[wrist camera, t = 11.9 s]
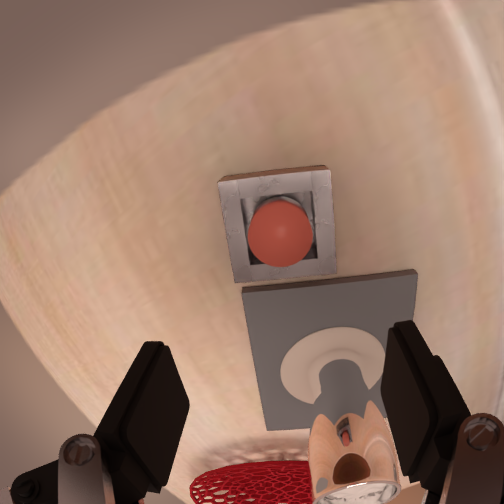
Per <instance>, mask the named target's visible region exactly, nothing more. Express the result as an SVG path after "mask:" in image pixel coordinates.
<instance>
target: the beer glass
mask: <svg viewBox="0 0 504 504" xmlns="http://www.w3.org/2000/svg"><path fill="white" fill-rule="evenodd" d="M308 381H309V384H310V387H311V390H312V393H313V398H314V408H313V415H312V421H311V428H310V434H309V443H308V474H309V483H310V491H311V498H312V504H386V503H388V502H389V501H391V500H393V499H394V498H395V497H396V496H397V495H398V494H399V493H400V491H401V485H400V479H399V470H398V463H397V457H396V452H395V447H394V443H393V440H392V437H391V434H390V431H389V429H388V426H387V424H386V422H385V420H384V418H383V416H382V414H381V412H380V410H379V408H378V407H377V405H376V403H375V401H374V400H373V398H372V396H371V394H370V392H369V389H368V386H367V377H366V364H365V361H364V359H363V358H362V356H361V355H360V354H358V353H356V352H354V351H352V350H347V349H337V350H332V351H329V352H326V353H324V354H322V355H320V356H319V357H317V358H316V359H315V360H314V361H313V362H312V363H311V365H310V367H309V369H308Z"/></svg>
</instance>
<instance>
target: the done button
mask: <svg viewBox="0 0 504 504" xmlns="http://www.w3.org/2000/svg"><path fill="white" fill-rule="evenodd" d="M312 239H313V233H312V228H311V225H310V222H309V219H308V216H307V213H306V211H305V210H304V208H303V207H302V206H301V205H300V204H299V203H298V202H297V201H295V200H293V199H291V198H288V197H282V196H278V197H272V198H269V199H267V200H265V201H263V202H262V203H261V204H260V205H259V206H258V207H257V208H256V210H255V211H254V213H253V216H252V219H251V223H250V226H249V230H248V243H249V246H250V249H251V251H252V252H253V254H254V255H255V256H256V257H257V258H258V259H259V260H260V261H262V262H263V263H265V264H267V265H270V266H274V267H287V266H291V265H293V264H296V263H297V262H299V261H300V260H302V259H303V258H304V257H305V256H306V254H307V253H308V251H309V250H310V247H311V244H312Z"/></svg>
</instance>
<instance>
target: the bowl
mask: <svg viewBox="0 0 504 504" xmlns="http://www.w3.org/2000/svg"><path fill="white" fill-rule="evenodd" d="M214 475H215V476H214ZM204 476H207V477H204ZM226 476H227V477H226ZM203 477H204V478H203ZM196 481H199V482H196ZM204 481H206V482H204ZM217 481H223V482H218V483H214V482H217ZM197 485H203V486H201V487H199V488H194V486H197ZM206 485H209V486H206ZM212 487H218V488H215V489H213V490H208V489H210V488H212ZM201 489H205V491H201V492H200V491H199V490H201ZM220 490H229V491H228V492H227V493H225V494H222V495H215V494H213V493H215V492H218V491H220ZM193 491H197V493H193ZM241 493H245V495H239V494H241ZM269 493H272V494H269ZM202 494H204V495H202ZM228 495H236V496H235V497H231V498H228V497H227V496H228ZM190 496H191V498H192V499H193V501H194V502H195V504H203V503H208V502H211V503H212V504H229V503H227V502H232V501H234V502H233V503H231V504H278V503H287V504H304V503H307V504H312V498H311V491H310V483H309V474H308V461H264V462H253V463H243V464H237V465H231V466H225V467H222V468H218V469H215V470H211V471H208V472H205V473H204V474H202V475H200V476H199V477H197V478H195V480H194V481H193V482H192V484H191V485H190ZM195 496H199V498H198V499H196V498H195ZM206 496H211V497H213V498H212V499H204V497H206ZM250 498H252V499H255V500H254V501H246V499H250ZM215 499H224V501H223V502H216V501H215ZM200 500H201V502H198V501H200Z"/></svg>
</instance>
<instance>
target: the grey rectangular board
mask: <svg viewBox="0 0 504 504" xmlns="http://www.w3.org/2000/svg"><path fill="white" fill-rule="evenodd" d="M417 280H418V273H417V272H416V271H415V270H414V269H413V270H405V271H397V272H389V273H381V274H373V275H364V276H355V277H347V278H338V279H328V280H319V281H309V282H299V283H289V284H278V285H268V286H256V287H245V288H242V299H243V305H244V310H245V316H246V322H247V327H248V333H249V338H250V344H251V349H252V355H253V360H254V365H255V371H256V376H257V382H258V387H259V392H260V397H261V403H262V408H263V413H264V418H265V423H266V429H267V431H275V430H292V429H306V428H311V421H312V415H313V408H314V398H313V393H312V390H311V387H310V384H309V381H308V369H309V367H310V365H311V363H312V362H313V361H314V360H315V359H316V358H317V357H319V356H320V355H322V354H324V353H326V352H329V351H332V350H337V349H347V350H352V351H354V352H356V353H358V354H360V355H361V356H362V358H363V359H364V361H365V364H366V377H367V386H368V389H369V392H370V394H371V396H372V398H373V400H374V401H375V403H376V405H377V407H378V408H379V410H380V412H381V414H382V416H383V418H386V417H387V414H386V411H385V407H384V404H383V401H382V397H381V391H380V387H381V381H382V374H383V368H384V361H385V353H386V346H387V337H388V330H389V328H391V327H393V326H394V323H395V322H400V321H406V320H412V321H413V315H414V308H415V299H416V290H417Z"/></svg>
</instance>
